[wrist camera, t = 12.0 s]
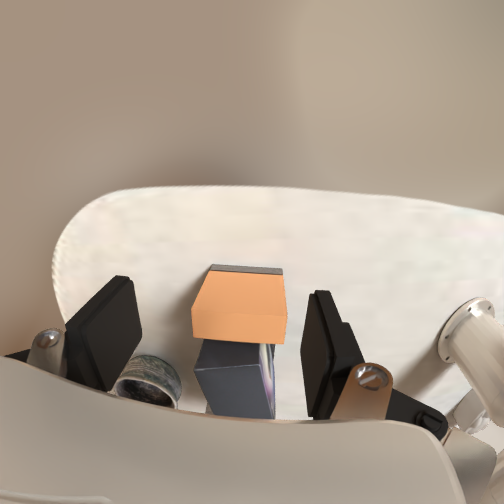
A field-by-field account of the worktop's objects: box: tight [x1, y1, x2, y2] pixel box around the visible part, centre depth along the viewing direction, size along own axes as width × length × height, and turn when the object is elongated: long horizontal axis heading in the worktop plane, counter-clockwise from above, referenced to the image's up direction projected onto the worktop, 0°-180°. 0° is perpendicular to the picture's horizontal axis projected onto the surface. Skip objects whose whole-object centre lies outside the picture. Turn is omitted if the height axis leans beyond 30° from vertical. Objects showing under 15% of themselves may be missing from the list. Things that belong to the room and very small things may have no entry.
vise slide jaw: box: [191, 271, 287, 344], centre depth 27 cm, size 8×3×8 cm, turn 87°
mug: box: [113, 356, 181, 409], centre depth 34 cm, size 10×12×10 cm
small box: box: [194, 339, 275, 420], centre depth 28 cm, size 11×6×10 cm, turn 11°
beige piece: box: [453, 388, 491, 434], centre depth 36 cm, size 10×13×9 cm
